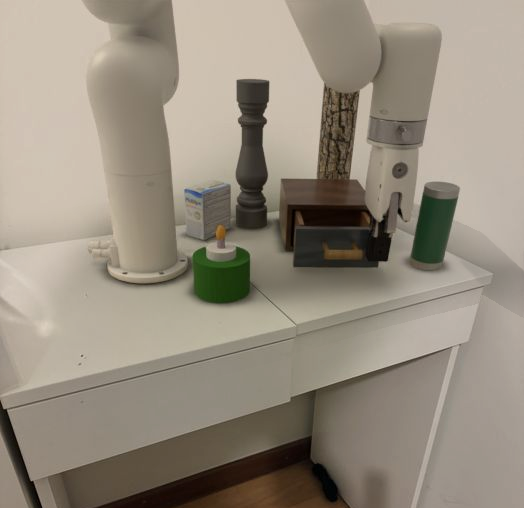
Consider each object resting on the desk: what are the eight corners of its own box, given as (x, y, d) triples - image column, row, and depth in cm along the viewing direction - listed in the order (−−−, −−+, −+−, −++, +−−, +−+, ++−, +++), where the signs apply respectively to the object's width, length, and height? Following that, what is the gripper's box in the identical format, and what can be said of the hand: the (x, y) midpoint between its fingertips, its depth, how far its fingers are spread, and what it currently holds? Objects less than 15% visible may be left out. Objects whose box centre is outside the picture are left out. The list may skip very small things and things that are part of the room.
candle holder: (238, 217, 104) (238, 78, 91) (268, 219, 104) (273, 79, 90) (232, 227, 99) (231, 81, 85) (264, 230, 98) (268, 83, 85)
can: (414, 270, 85) (430, 190, 77) (405, 257, 89) (420, 181, 82) (446, 270, 85) (465, 191, 78) (436, 257, 89) (453, 181, 82)
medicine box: (213, 224, 101) (212, 178, 96) (231, 229, 98) (231, 183, 94) (185, 235, 95) (183, 188, 90) (204, 241, 93) (202, 193, 88)
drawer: (385, 281, 79) (392, 241, 75) (296, 281, 78) (299, 240, 74) (359, 235, 95) (364, 200, 91) (286, 234, 94) (287, 199, 91)
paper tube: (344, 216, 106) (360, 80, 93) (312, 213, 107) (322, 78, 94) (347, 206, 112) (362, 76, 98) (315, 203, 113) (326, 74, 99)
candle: (192, 303, 73) (189, 236, 68) (195, 278, 80) (192, 215, 75) (251, 303, 74) (252, 236, 68) (248, 278, 81) (249, 215, 75)
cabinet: (368, 251, 91) (375, 205, 86) (285, 251, 90) (287, 204, 86) (352, 221, 104) (357, 179, 99) (278, 220, 103) (280, 178, 99)
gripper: (441, 144, 63) (414, 280, 73) (408, 122, 76) (388, 241, 86) (380, 143, 63) (361, 280, 73) (357, 121, 75) (343, 241, 85)
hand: (376, 259), depth 79 cm, fingers closed
